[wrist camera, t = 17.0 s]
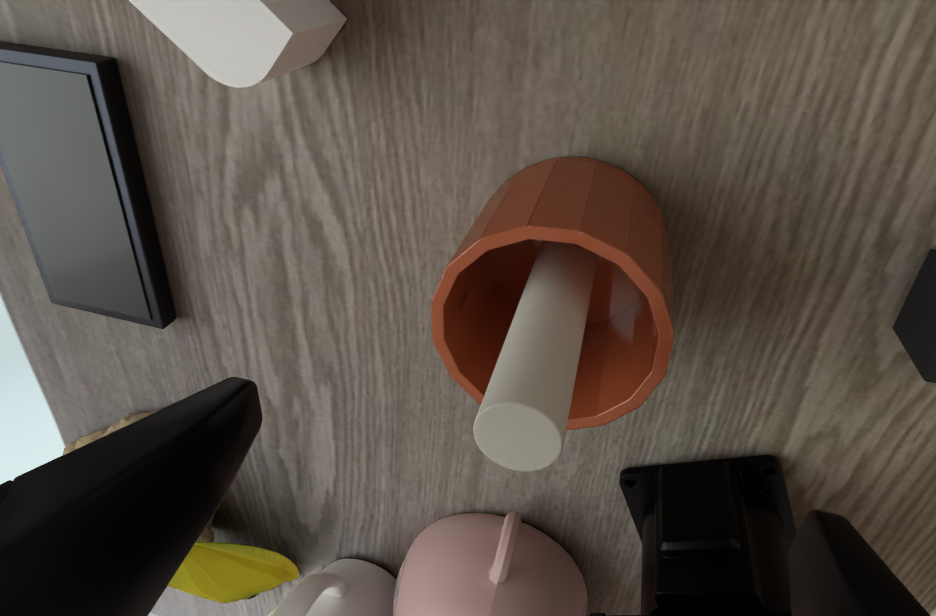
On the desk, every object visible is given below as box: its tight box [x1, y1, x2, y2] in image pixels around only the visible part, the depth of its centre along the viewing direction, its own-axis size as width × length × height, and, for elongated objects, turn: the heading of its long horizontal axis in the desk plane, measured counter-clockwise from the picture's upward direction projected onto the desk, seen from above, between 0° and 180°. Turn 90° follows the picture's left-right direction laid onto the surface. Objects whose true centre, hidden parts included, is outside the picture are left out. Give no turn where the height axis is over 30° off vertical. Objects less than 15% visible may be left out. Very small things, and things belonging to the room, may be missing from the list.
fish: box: [167, 541, 299, 603], centre depth 35 cm, size 3×16×10 cm
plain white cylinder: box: [473, 240, 598, 472], centre depth 17 cm, size 2×2×10 cm
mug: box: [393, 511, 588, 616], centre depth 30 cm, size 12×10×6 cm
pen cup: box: [431, 157, 674, 430], centre depth 19 cm, size 7×7×6 cm
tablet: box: [0, 41, 176, 329], centre depth 26 cm, size 12×6×1 cm, turn 176°
